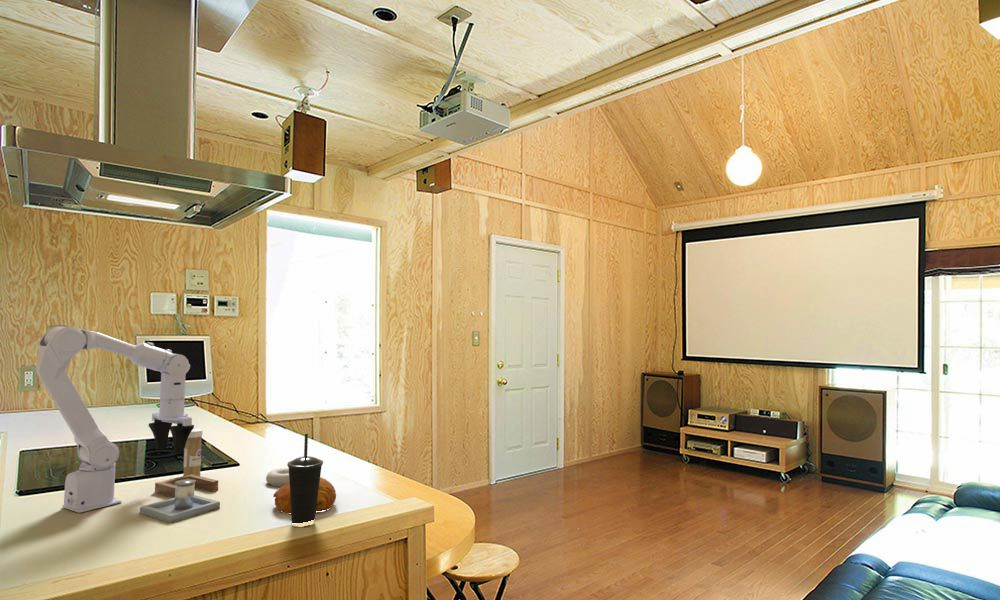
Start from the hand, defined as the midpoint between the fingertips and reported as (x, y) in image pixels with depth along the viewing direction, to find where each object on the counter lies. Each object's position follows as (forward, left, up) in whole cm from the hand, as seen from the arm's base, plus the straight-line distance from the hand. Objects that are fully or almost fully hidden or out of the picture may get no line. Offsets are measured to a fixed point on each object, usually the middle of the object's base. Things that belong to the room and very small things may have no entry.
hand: (170, 450), depth 152 cm
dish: (-8, -18, -10) cm, 22 cm away
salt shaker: (-7, -18, -10) cm, 22 cm away
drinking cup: (+1, -49, -11) cm, 50 cm away
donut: (+22, -19, -11) cm, 31 cm away
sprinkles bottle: (+11, +7, -11) cm, 17 cm away
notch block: (+2, -5, -10) cm, 12 cm away
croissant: (+10, -40, -11) cm, 42 cm away
